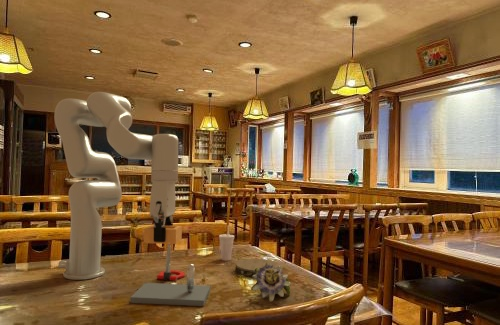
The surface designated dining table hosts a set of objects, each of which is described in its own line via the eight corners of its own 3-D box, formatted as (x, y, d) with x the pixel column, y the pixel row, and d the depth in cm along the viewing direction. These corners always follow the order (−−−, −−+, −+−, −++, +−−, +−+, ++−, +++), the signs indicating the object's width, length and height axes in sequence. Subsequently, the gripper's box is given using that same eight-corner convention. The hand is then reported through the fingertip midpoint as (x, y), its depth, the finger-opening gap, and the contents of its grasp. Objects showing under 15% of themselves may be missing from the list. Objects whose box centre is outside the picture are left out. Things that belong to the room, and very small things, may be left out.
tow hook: (164, 272, 124) (153, 279, 114) (167, 236, 124) (156, 240, 115) (187, 275, 122) (178, 282, 113) (189, 237, 123) (180, 241, 114)
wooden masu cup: (143, 243, 97) (144, 228, 97) (151, 238, 104) (151, 225, 104) (175, 243, 97) (175, 229, 97) (181, 239, 103) (181, 225, 103)
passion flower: (270, 320, 99) (250, 289, 96) (258, 299, 109) (240, 271, 106) (302, 296, 101) (284, 266, 97) (287, 278, 111) (270, 249, 108)
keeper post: (185, 292, 99) (186, 264, 99) (187, 290, 101) (188, 262, 101) (192, 293, 99) (193, 264, 99) (194, 290, 101) (195, 263, 101)
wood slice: (286, 277, 123) (286, 268, 123) (243, 280, 117) (244, 272, 117) (268, 265, 138) (268, 257, 138) (230, 267, 132) (230, 259, 132)
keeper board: (130, 302, 95) (130, 297, 95) (145, 287, 107) (145, 282, 107) (203, 306, 94) (203, 300, 94) (210, 290, 106) (210, 285, 106)
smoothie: (233, 261, 140) (234, 226, 140) (217, 261, 140) (218, 226, 140) (234, 257, 146) (235, 224, 146) (218, 257, 146) (220, 223, 146)
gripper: (161, 176, 110) (159, 233, 109) (141, 177, 92) (139, 245, 92) (184, 176, 109) (183, 234, 109) (168, 177, 92) (167, 245, 91)
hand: (163, 238), depth 100 cm, fingers closed on wooden masu cup, 6 cm apart
